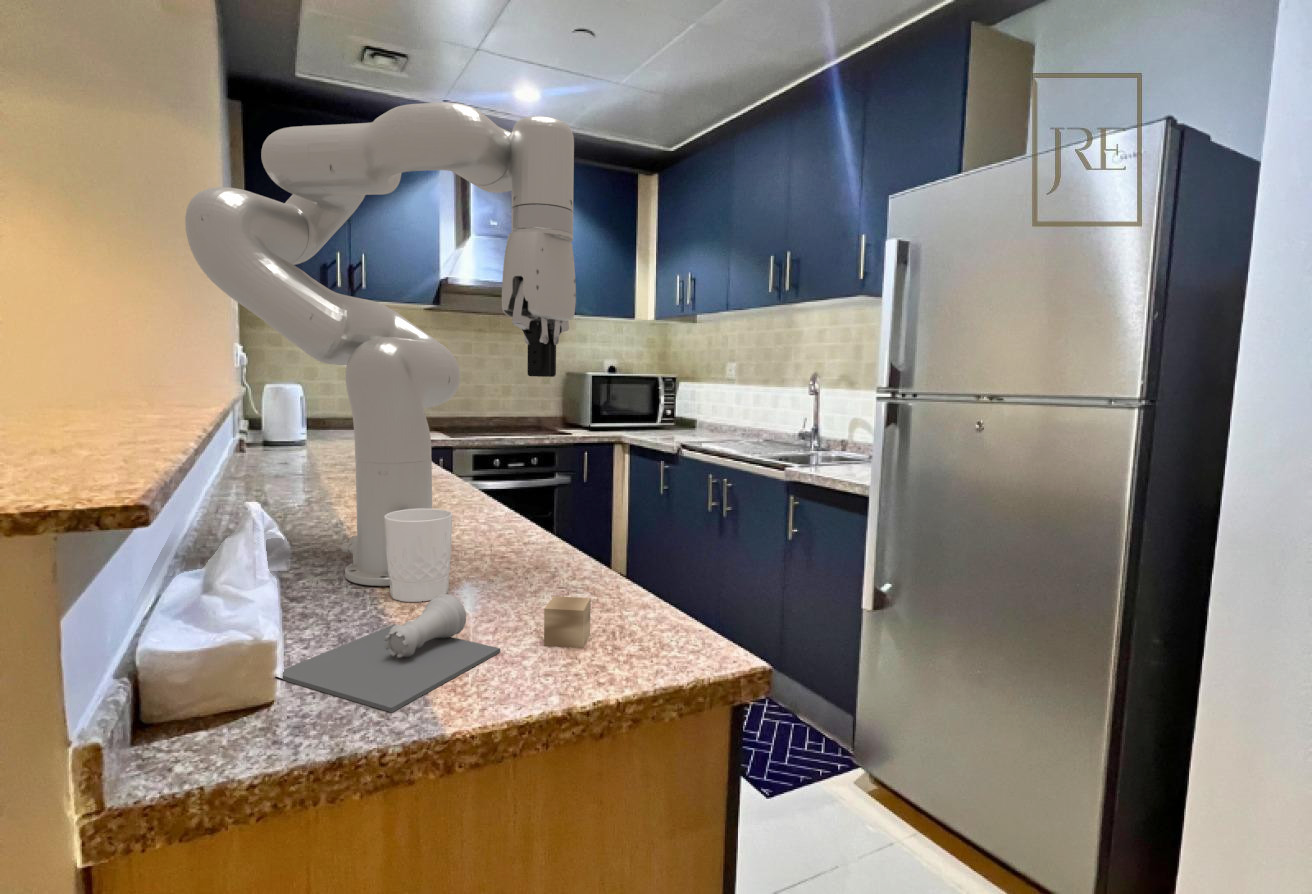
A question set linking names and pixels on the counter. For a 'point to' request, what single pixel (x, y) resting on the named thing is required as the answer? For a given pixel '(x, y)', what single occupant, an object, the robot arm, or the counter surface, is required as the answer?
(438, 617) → the rook chess piece
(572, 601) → the oak block
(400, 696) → the mat
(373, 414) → the robot arm
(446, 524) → the white cup
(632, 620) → the counter surface
